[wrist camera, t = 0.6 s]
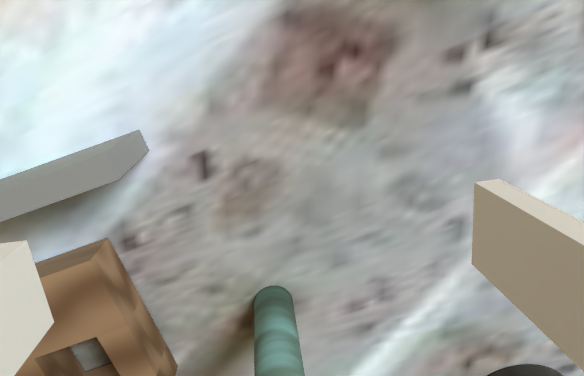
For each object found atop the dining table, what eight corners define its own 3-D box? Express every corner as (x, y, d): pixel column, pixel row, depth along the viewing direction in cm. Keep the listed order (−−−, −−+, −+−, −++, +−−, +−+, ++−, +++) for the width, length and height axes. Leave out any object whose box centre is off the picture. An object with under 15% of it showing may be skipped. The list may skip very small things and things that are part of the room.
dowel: (297, 311, 44) (317, 424, 31) (261, 324, 44) (266, 442, 31) (285, 280, 42) (300, 384, 29) (248, 293, 43) (246, 402, 29)
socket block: (177, 365, 44) (169, 399, 40) (72, 402, 44) (53, 439, 40) (107, 237, 39) (90, 260, 35) (-11, 279, 39) (-43, 307, 35)
